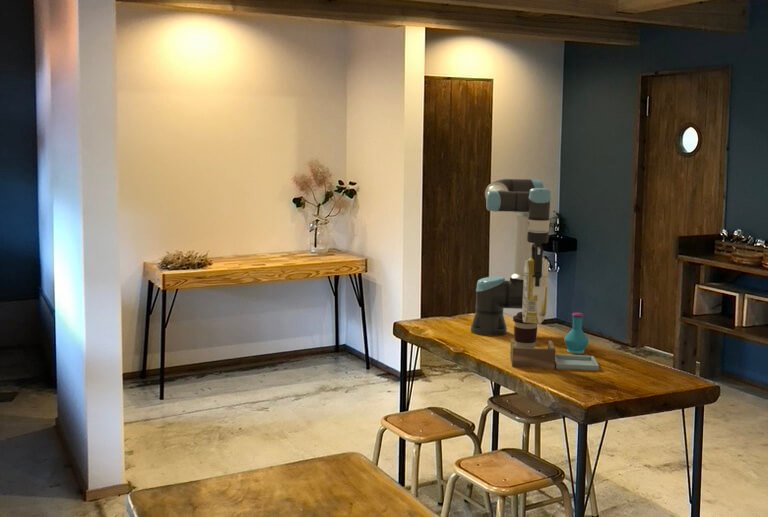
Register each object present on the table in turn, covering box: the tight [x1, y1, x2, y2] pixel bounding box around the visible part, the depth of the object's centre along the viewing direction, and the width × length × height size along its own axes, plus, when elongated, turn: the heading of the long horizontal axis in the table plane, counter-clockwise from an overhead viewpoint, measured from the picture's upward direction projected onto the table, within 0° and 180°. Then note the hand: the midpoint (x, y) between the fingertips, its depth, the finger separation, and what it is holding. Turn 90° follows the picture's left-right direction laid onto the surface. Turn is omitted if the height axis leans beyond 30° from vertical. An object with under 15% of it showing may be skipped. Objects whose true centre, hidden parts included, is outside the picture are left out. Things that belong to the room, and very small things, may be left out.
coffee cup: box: [512, 311, 538, 348], centre depth 331 cm, size 10×10×15 cm
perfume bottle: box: [563, 311, 589, 354], centre depth 333 cm, size 9×9×15 cm
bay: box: [509, 338, 557, 370], centre depth 315 cm, size 14×15×7 cm
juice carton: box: [521, 256, 549, 325], centre depth 312 cm, size 9×8×24 cm
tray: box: [555, 353, 600, 372], centre depth 313 cm, size 14×15×2 cm
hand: (535, 292), depth 312 cm, fingers closed on juice carton, 10 cm apart
